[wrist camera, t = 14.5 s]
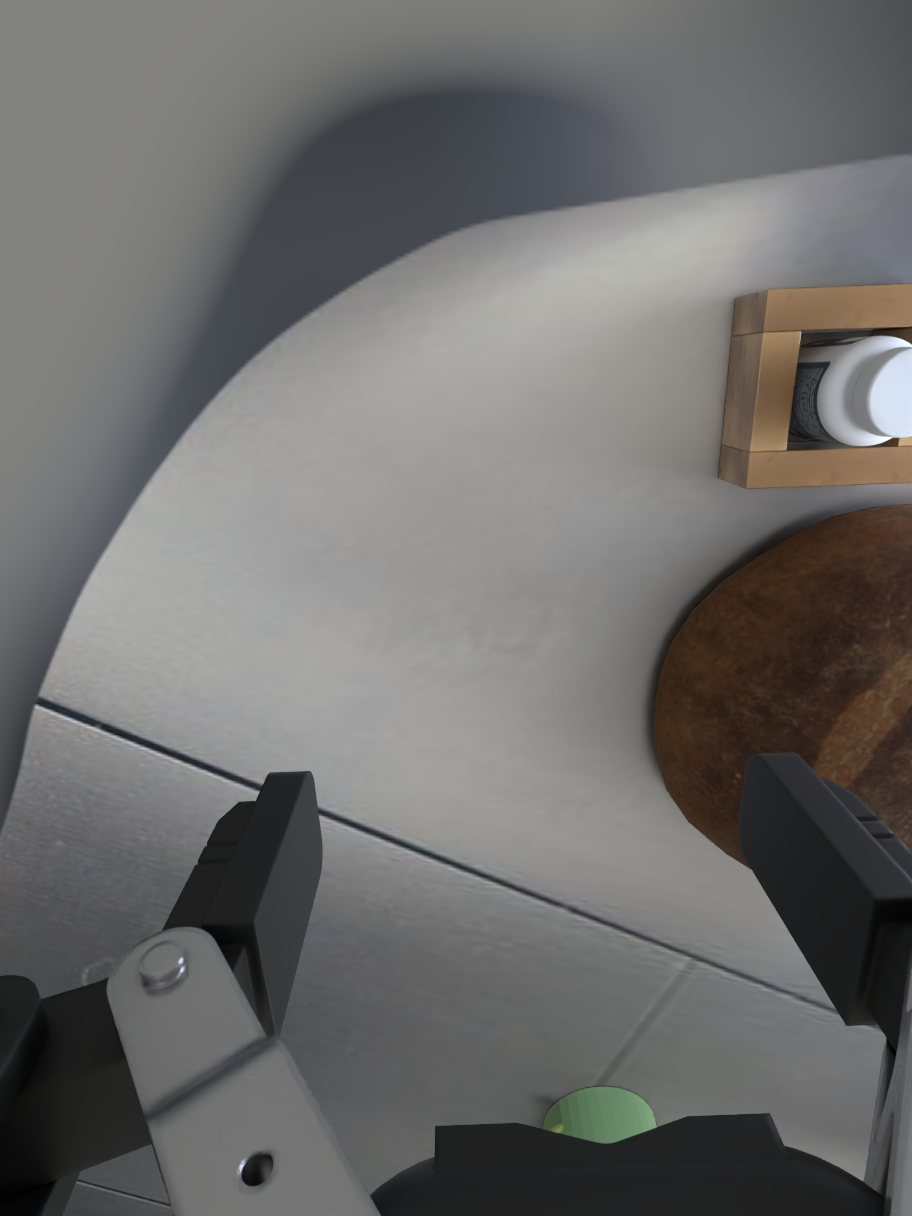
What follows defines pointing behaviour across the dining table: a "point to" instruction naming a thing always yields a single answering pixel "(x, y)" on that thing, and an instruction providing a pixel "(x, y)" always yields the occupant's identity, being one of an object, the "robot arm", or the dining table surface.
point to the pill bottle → (853, 391)
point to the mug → (600, 1115)
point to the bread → (797, 674)
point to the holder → (769, 379)
